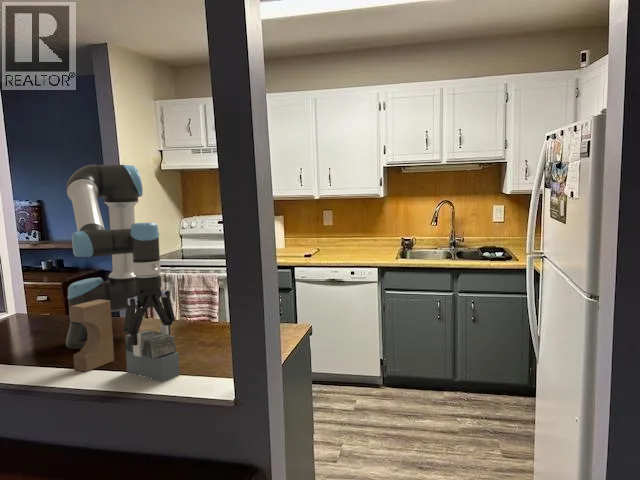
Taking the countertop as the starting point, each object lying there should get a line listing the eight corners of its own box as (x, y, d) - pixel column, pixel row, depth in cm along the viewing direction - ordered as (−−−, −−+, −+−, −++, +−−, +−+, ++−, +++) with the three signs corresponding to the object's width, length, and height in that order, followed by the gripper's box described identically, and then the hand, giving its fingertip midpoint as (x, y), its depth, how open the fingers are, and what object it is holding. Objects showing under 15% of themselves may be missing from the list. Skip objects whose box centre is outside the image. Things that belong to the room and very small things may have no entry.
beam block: (127, 373, 147) (125, 350, 146) (144, 367, 152) (142, 345, 151) (163, 382, 138) (161, 358, 138) (179, 376, 143) (178, 352, 143)
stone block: (152, 343, 152) (151, 327, 152) (179, 352, 143) (178, 334, 143) (125, 350, 146) (124, 333, 145) (151, 359, 136) (151, 341, 136)
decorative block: (85, 372, 148) (81, 307, 146) (73, 370, 150) (68, 306, 149) (115, 361, 158) (111, 300, 156) (103, 359, 160) (98, 299, 159)
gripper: (122, 282, 131) (127, 363, 133) (185, 270, 150) (189, 342, 152) (105, 280, 135) (111, 359, 137) (168, 269, 154) (172, 339, 156)
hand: (152, 350), depth 144 cm, fingers closed on stone block, 9 cm apart
